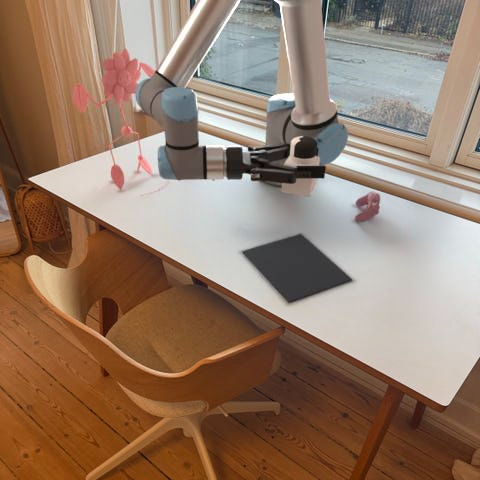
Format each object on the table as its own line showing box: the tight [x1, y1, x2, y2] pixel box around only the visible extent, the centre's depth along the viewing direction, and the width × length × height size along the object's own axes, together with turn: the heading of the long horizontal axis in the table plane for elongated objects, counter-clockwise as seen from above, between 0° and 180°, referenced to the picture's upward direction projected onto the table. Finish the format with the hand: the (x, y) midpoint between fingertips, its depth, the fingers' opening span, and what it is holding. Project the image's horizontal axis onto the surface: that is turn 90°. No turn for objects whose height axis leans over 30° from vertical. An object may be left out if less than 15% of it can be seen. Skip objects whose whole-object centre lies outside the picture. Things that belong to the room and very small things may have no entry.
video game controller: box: [354, 191, 381, 223], centre depth 126 cm, size 10×5×7 cm, turn 168°
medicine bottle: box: [281, 136, 320, 198], centre depth 110 cm, size 7×7×12 cm
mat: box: [242, 233, 353, 304], centre depth 110 cm, size 17×21×1 cm
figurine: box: [71, 48, 169, 197], centre depth 126 cm, size 15×26×35 cm, turn 138°
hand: (320, 162), depth 110 cm, fingers closed on medicine bottle, 9 cm apart
